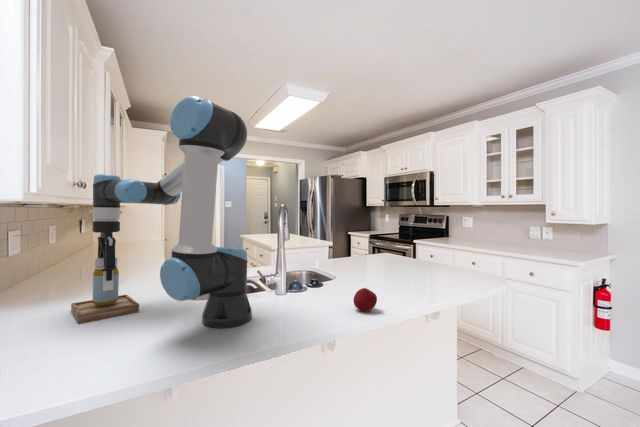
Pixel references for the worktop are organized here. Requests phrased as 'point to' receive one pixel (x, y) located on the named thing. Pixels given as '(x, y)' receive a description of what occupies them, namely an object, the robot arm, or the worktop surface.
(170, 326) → the worktop surface
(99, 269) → the bottle
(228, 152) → the robot arm
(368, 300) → the apple
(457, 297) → the worktop surface
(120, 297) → the tray
